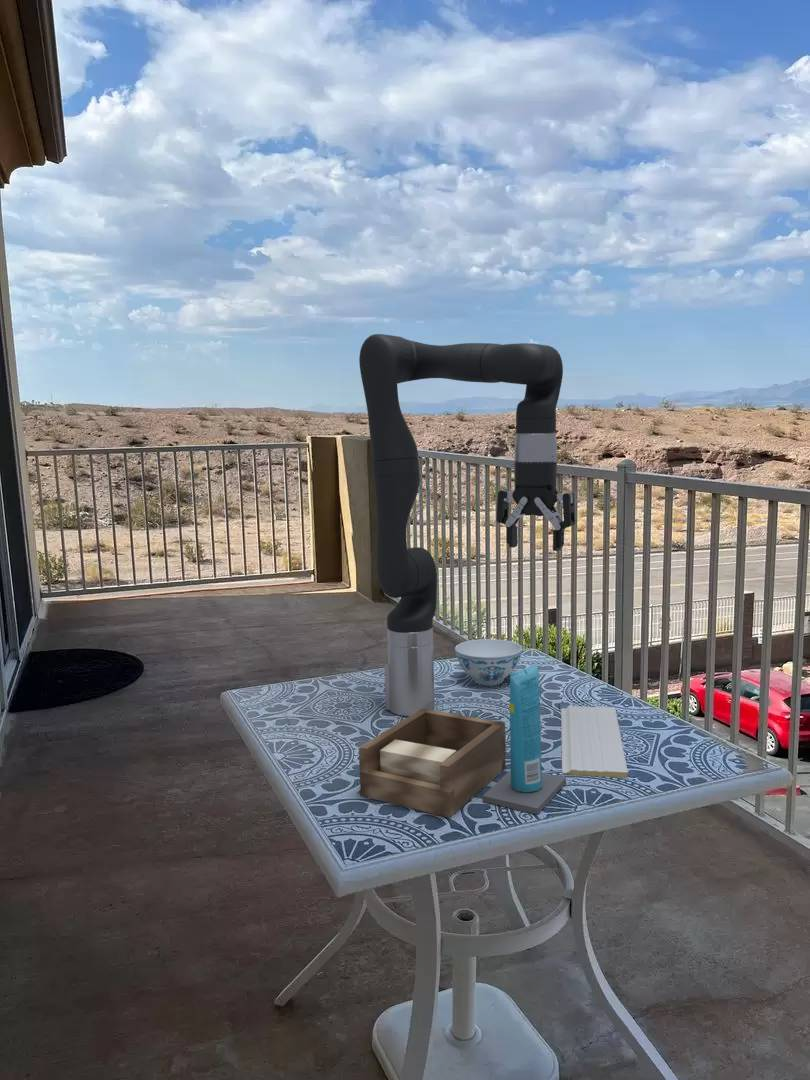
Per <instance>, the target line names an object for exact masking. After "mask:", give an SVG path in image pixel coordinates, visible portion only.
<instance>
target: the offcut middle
mask: <svg viewBox="0 0 810 1080" xmlns="http://www.w3.org/2000/svg"><path fill="white" fill-rule="evenodd" d="M381 772H384V773H388V774H393V775H397V776H402V777H406V778H410V779H415V780H419V781H423V782H428V783H432V784H436V785H440V777H436V776H431V775H426V774H421V773H416V772H411V771H406V770H401V769H396V768H391V767H386V766H381Z"/></svg>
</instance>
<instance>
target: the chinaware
mask: <svg viewBox="0 0 810 1080" xmlns="http://www.w3.org/2000/svg"><path fill="white" fill-rule="evenodd" d="M454 649H455V655H456V658H457V661H458V663H459V665H460V667H461V668H462V669H463V671H465V673H466V674H467V675H468V676H470V677H471V678H473V681H474V683H476V684H477V683H478V685H481V684H482V686H497V684H498V685H500V683H501V684H502V682H503V681H505V678H507V677H508V676H510V674H512V673H514V671H515V669H516V668H517V666H518V665H519V662H520V661H521V658H522V652H523V646H522V645H521V644H519V643H518V642H515V641H511V640H504V639H494V638H485V639H484V638H481V639H472V640H467V641H463V642H461V643H459V644H456V646H455V648H454ZM503 683H504V682H503Z"/></svg>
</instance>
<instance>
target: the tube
mask: <svg viewBox="0 0 810 1080" xmlns="http://www.w3.org/2000/svg"><path fill="white" fill-rule="evenodd" d="M540 702H541V698H540V679H539V665H538V663H537V662H535V663H534V664H531V665H529V666H527V667H524V668H522V669H520V670H517V671H515V672H514V671H513V672H512V673H511V674H509V727H510V729H509V730H510V734H509V736H510V739H509V740H510V747H509V748H510V770H511V787H512V788H513V789H514V790H516V791H520V792H533V791H537V790H539V789H540V788H541V787H542V773H543V771H542V741H541V740H542V737H541V736H542V735H541V734H542V733H541V706H540V705H541V703H540Z"/></svg>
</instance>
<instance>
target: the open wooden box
mask: <svg viewBox="0 0 810 1080" xmlns="http://www.w3.org/2000/svg"><path fill="white" fill-rule="evenodd" d="M395 739H396V740H401V741H407V742H412V743H418V744H424V745H429V746H435V747H440V748H446V749H451V750H457V752H456V753H455V754H453V755H452V756H451V757H449V758H448V759H447V760H446V761H444V762H443V763H442V764H440V785H436V784H432V783H428V782H423V781H419V780H415V779H410V778H406V777H402V776H397V775H393V774H388V773H384V772H381V766H380V750H381V749H383V748H384V747H385V746H387V745H388V744H390V743H391V742H392V741H394V740H395ZM358 761H359V766H358V767H359V784H360V785H359V789H360V790H359V791H360V796H361V797H365V798H369V799H373V800H376V801H381V802H384V803H389V804H393V805H396V806H401V807H403V808H407V809H408V808H409V809H412V810H415V811H416V810H417V811H420V812H424V813H428V814H431V815H436V816H440V817H444V818H449V819H450V818H452V817H453V816H454V815H455V814H456V813H458V811H460V810H461V809H462V808H464V806H465V805H466V804H468V802H469V800H470V799H471V800H472V799H473V798H474V797H475V796H477V794H479V793H480V792H481V791H482V790H483V789H485V788H486V786H488V785H489V784H490V783H491V782H492V781H493V780H494V779H496V778H497V777H498V776H499V775H500V774H502V773H503V771H505V768H506V767H507V766H506V765H507V763H506V722H501V721H497V720H491V719H490V720H489V719H484V718H481V717H474V716H473V717H472V716H467V715H463V714H456V713H451V712H445V711H439V710H436V709H434V710H429V709H423V708H422V709H420V710H419V711H417V712H416V713H414V714H412V715H411V716H406V717H405V718H403V720H401V721H399V722H398V723H395V724H394V725H392V726H391V727H390V728H388V729H387V730H385V731H383V732H382V733H379V734H378V735H377V736H375V737H373V738H371V739H370V740H368V741H367V742H366V743H364V744H362V745H360V746H359V747H358ZM498 774H499V775H498ZM497 775H498V776H497ZM496 776H497V777H496ZM487 784H488V785H487ZM482 788H483V789H482ZM480 790H481V791H480ZM479 791H480V792H479ZM478 792H479V793H478ZM473 796H474V797H473ZM471 800H470V801H471ZM460 808H461V809H460Z"/></svg>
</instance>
